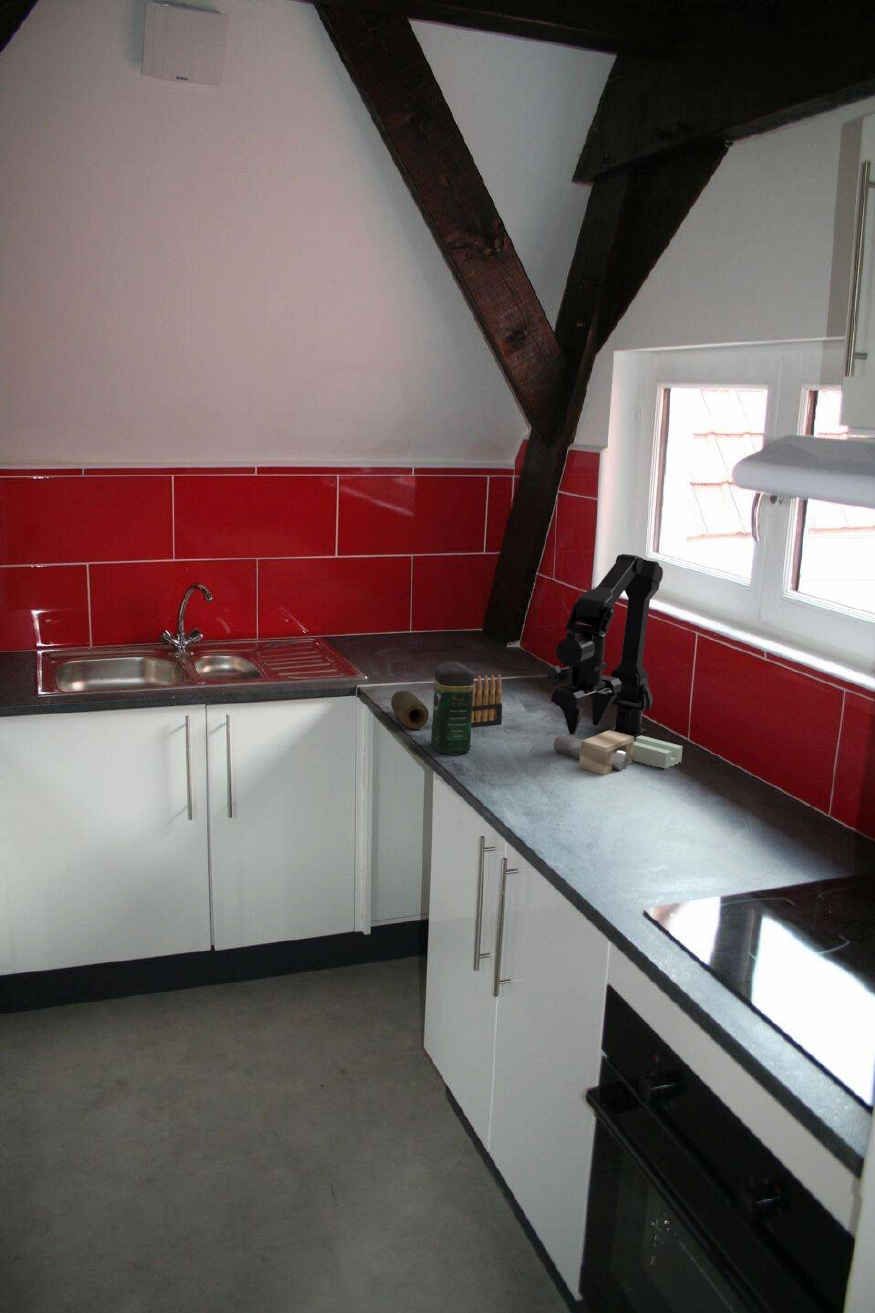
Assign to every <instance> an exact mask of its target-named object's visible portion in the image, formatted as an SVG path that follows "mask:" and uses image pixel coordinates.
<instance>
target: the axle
mask: <svg viewBox="0 0 875 1313" xmlns="http://www.w3.org/2000/svg"><path fill="white" fill-rule="evenodd" d="M583 740H584V739H580V738H576V737H572V736H568V735H564V734H558V735H557V736H556V737H555V740H554V742H553V750H554V752H555V753H556V754H561V755H563V756H568V757H572V758H574V759H575V758H576V759H578V760H580V752H581V741H583ZM628 762H629V755H628V753H627V752H623V751H620V750H616V749H614V750H613V761H612V768H613V769H612V770H617V771H619V770H620V772H622V771H624V770H625V769H627V767H628V766H629V764H628ZM623 769H624V770H623Z"/></svg>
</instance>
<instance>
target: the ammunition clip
mask: <svg viewBox="0 0 875 1313" xmlns="http://www.w3.org/2000/svg"><path fill="white" fill-rule="evenodd" d="M501 676H502V675H501V674H500V673H498V675H497V677H496V680H495V676H494V673H492V674H491V676H490V679H489V678H488V675H487V674H485V675H484V677H483V681H482V678H481V675H478V676H477V678H476V684H475V682H474V689H473V703H472V720H471V729H474V728H483V727H491V726H492V725H493V726H500V725H502V722H503V721H502V720H503V703H502V694H503V693H502V692H503V691H502V677H501ZM495 681H496V682H495Z"/></svg>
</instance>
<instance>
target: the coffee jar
mask: <svg viewBox="0 0 875 1313" xmlns="http://www.w3.org/2000/svg"><path fill="white" fill-rule="evenodd" d="M433 682H434V687H433V688H434V689H433V690H434V691H433V705H432V706H433V707H432V708H433V709H432V721H431V722H432V723H431V734H430V735H431V736H430V737H431V738H430V743H431V745H432V747H433V748H434V749H435V751H437V752H438V753H442V754H448V755H460V754H465V753H468V752H470V749H471V737H472V736H471V734H472V728H471V720H472V703H473V689H474V688H475V687H474V683H475V673H474V671H473V670H471V669H470V668H469V667H468V666H466V665H464V664H463V663H461V662H460V661H441V663H439V664H438V665H436V667H435V669H434V679H433Z"/></svg>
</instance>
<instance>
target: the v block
mask: <svg viewBox="0 0 875 1313" xmlns="http://www.w3.org/2000/svg"><path fill="white" fill-rule="evenodd" d="M683 748H684V747H683V745H678V744H675V743H672V742H668V741H663V740H660V739H656V738H653V737H649V736H645V735H637V736H635V741H634V745H633V755H632V760H633V761H632V762H636V761H637V762H636V763H639V762H641V763H640V764H643V763H645V764H644V765H646V766H647V765H648V766H650V765H652V766H651V767H654V766H658V767H662V768H667V769H669V768H668V767H670V766H672V767H674V766H675V764H676V765H677V764H680V763H682V758H683V757H682V755H683ZM679 762H680V763H679ZM670 768H671V767H670Z"/></svg>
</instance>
